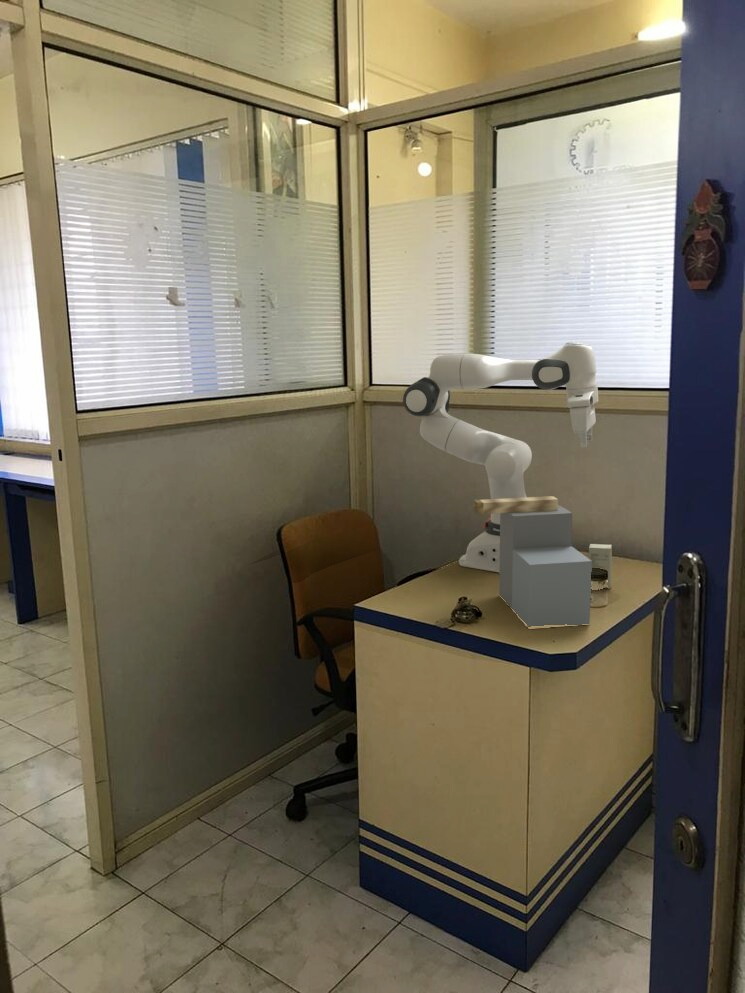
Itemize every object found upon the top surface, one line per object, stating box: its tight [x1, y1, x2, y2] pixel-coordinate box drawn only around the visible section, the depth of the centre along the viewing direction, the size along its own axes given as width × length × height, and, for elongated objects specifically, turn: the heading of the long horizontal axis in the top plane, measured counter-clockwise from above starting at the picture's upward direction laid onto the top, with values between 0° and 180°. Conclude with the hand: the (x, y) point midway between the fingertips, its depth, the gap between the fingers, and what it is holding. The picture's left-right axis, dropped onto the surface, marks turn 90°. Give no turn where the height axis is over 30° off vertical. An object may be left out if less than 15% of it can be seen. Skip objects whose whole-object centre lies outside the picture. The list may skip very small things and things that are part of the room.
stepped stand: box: [498, 504, 592, 627], centre depth 217 cm, size 16×26×26 cm, turn 8°
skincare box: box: [588, 543, 613, 590], centre depth 236 cm, size 6×4×12 cm
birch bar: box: [473, 495, 559, 515], centre depth 220 cm, size 22×4×3 cm, turn 98°
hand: (586, 444), depth 243 cm, fingers open, 8 cm apart
